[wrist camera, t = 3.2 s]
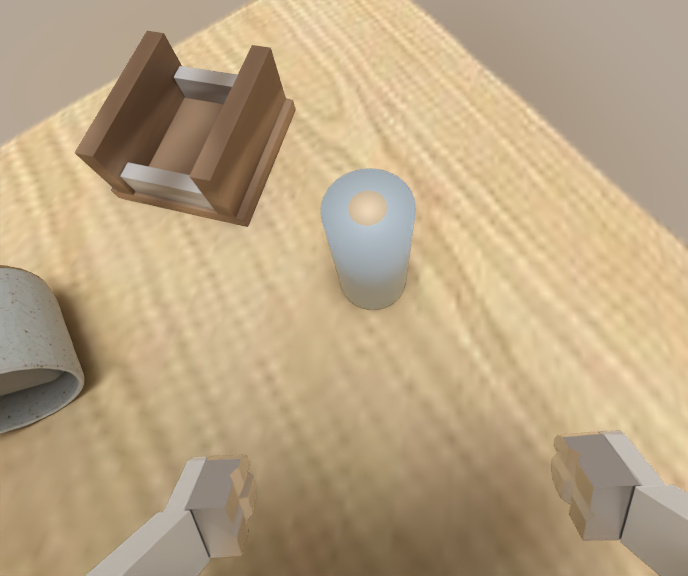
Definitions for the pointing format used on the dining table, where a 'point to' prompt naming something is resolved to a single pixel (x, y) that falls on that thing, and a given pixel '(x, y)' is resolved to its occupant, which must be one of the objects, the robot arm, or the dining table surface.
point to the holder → (190, 132)
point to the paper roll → (370, 235)
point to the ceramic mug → (33, 351)
